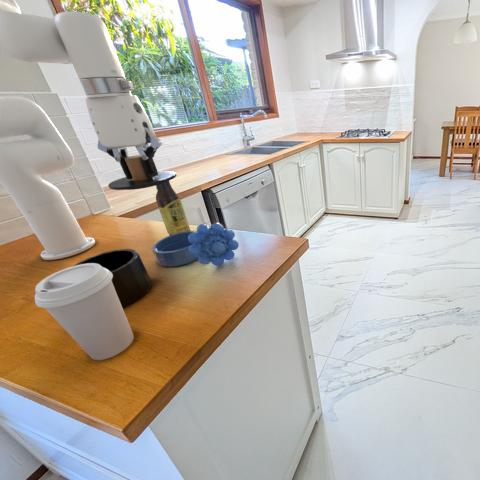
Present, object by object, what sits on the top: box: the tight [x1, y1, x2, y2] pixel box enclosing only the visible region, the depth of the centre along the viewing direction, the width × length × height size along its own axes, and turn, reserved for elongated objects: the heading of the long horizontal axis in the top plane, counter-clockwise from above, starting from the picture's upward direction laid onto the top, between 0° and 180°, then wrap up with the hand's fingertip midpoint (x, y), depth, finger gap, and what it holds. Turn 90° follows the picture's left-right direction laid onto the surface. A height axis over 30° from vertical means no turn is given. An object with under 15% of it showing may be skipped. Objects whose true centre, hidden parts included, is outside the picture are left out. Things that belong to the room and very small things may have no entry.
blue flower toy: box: [188, 222, 240, 267], centre depth 71 cm, size 12×7×12 cm, turn 135°
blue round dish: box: [151, 230, 199, 268], centre depth 79 cm, size 13×13×4 cm
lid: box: [107, 154, 177, 191], centre depth 67 cm, size 14×14×6 cm
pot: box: [73, 248, 153, 309], centre depth 64 cm, size 13×13×8 cm
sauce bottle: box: [155, 180, 191, 236], centre depth 88 cm, size 6×6×20 cm
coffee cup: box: [34, 263, 135, 361], centre depth 48 cm, size 10×10×15 cm
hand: (142, 176), depth 68 cm, fingers closed on lid, 4 cm apart
